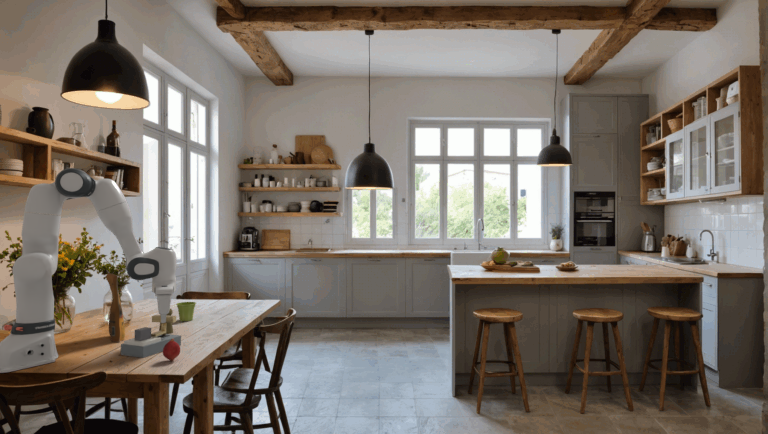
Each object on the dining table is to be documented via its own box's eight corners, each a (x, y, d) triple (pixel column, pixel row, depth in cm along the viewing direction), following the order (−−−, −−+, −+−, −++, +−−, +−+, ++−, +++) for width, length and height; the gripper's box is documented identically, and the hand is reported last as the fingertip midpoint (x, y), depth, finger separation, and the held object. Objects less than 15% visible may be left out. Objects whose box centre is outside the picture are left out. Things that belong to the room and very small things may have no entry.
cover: (142, 346, 177) (142, 332, 177) (123, 344, 180) (124, 330, 180) (161, 340, 186) (161, 327, 186) (143, 338, 189) (143, 325, 189)
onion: (162, 363, 169) (162, 341, 170) (162, 359, 175) (163, 337, 175) (180, 362, 172) (180, 339, 172) (180, 357, 177) (180, 336, 177)
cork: (167, 334, 212) (167, 310, 212) (155, 333, 214) (155, 309, 214) (176, 331, 218) (176, 307, 218) (164, 331, 219) (164, 307, 220)
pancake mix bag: (107, 344, 195) (108, 275, 195) (105, 334, 211) (106, 271, 211) (126, 342, 198) (127, 274, 199) (122, 333, 215) (123, 270, 215)
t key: (164, 339, 186) (164, 319, 186) (142, 338, 187) (142, 319, 187) (175, 334, 194) (176, 315, 194) (155, 333, 195) (155, 315, 195)
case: (143, 357, 177) (143, 346, 177) (120, 354, 180) (120, 343, 180) (180, 345, 194) (181, 334, 195) (159, 342, 198) (159, 332, 198)
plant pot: (183, 323, 237) (183, 305, 237) (172, 320, 242) (172, 303, 242) (199, 319, 244) (200, 302, 245) (188, 317, 250) (188, 301, 250)
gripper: (155, 284, 201) (154, 317, 201) (155, 290, 183) (154, 327, 183) (171, 283, 204) (171, 316, 204) (173, 290, 186) (172, 325, 185)
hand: (163, 321), depth 193 cm, fingers closed on t key, 4 cm apart
